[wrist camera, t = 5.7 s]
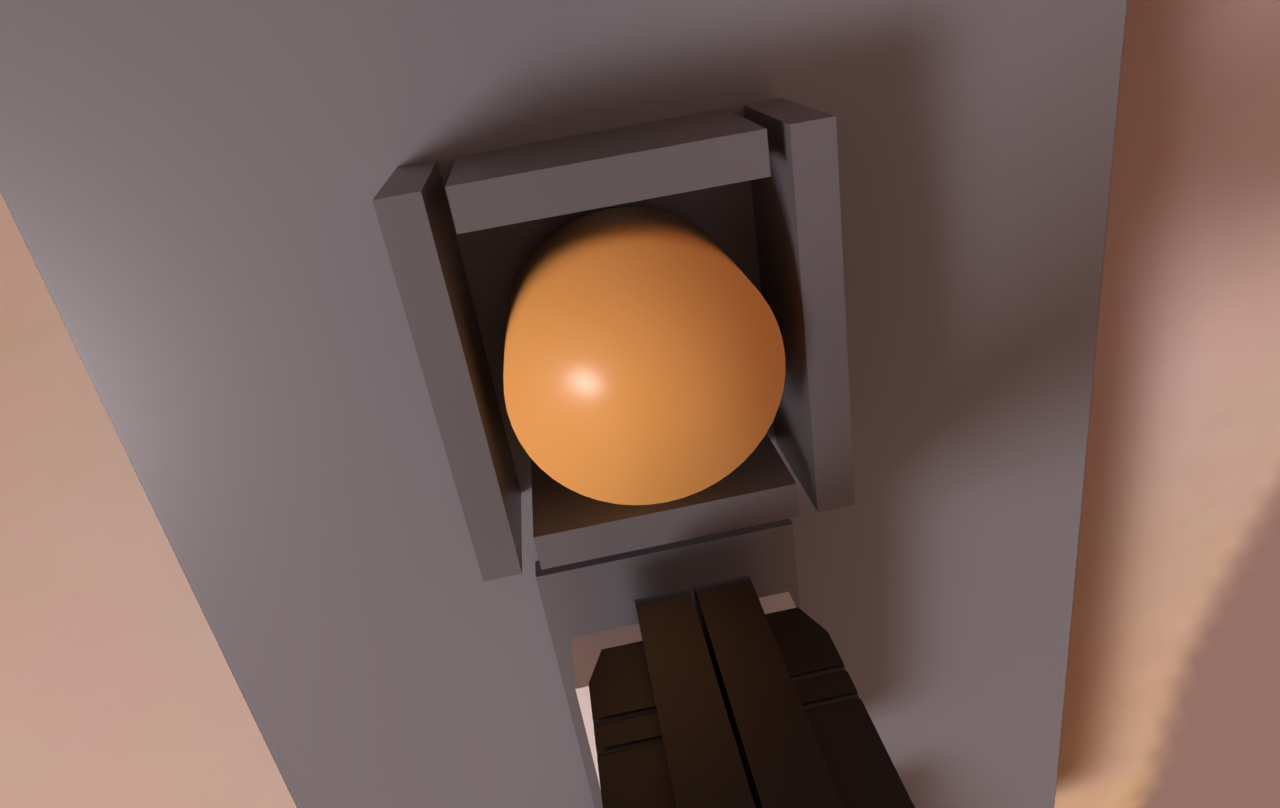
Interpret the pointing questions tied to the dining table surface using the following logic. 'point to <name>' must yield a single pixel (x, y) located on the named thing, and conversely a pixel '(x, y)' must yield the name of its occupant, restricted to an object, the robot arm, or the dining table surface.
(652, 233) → the orange button
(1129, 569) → the dining table surface
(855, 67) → the control panel
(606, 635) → the rocker switch
